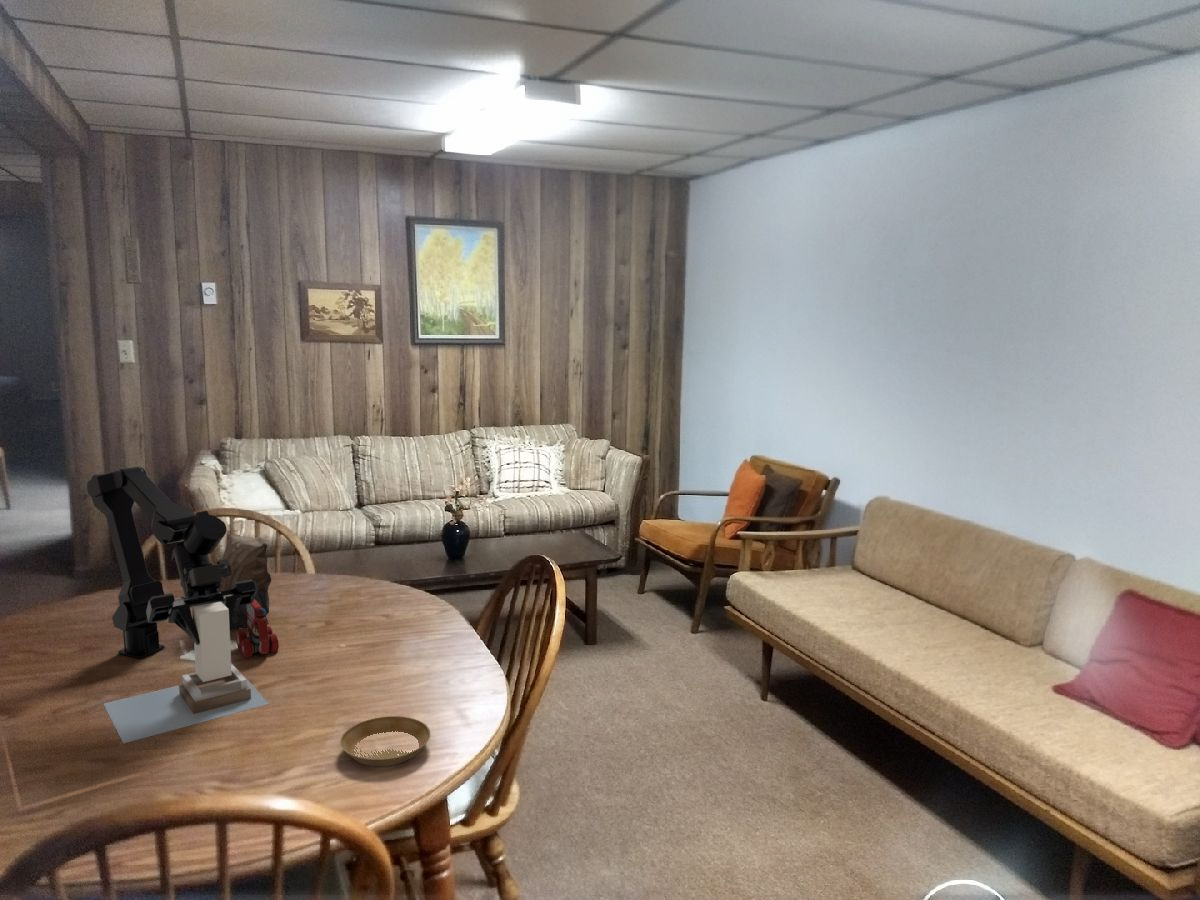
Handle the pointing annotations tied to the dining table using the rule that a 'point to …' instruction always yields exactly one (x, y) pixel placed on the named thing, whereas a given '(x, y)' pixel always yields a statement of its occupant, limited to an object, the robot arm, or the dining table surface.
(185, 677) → the brown open tray
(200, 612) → the cream post
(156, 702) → the blue-gray board
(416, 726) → the plant saucer
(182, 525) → the robot arm
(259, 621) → the toy fire truck
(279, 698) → the dining table surface
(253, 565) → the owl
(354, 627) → the dining table surface
